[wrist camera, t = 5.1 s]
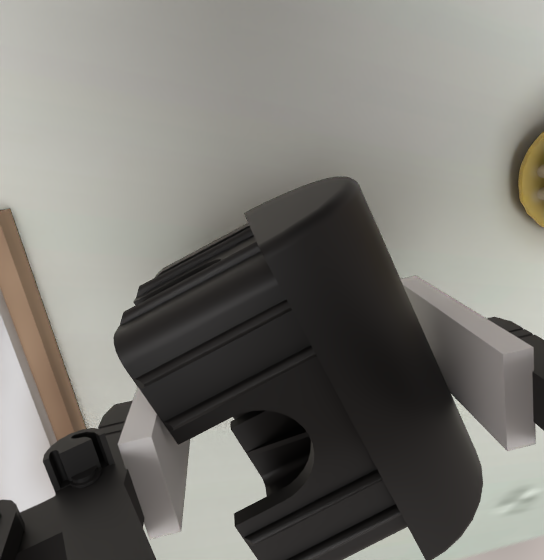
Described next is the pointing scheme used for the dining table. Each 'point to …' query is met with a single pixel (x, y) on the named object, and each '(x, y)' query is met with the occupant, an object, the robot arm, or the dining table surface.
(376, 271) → the end cap
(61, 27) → the dining table surface
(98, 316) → the dining table surface
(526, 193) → the hamburger
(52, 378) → the rail board
